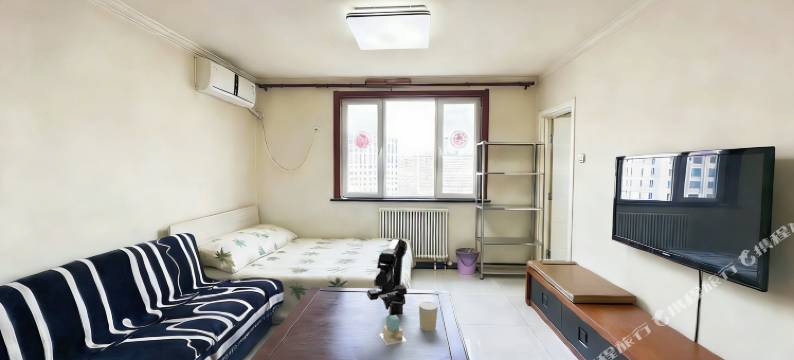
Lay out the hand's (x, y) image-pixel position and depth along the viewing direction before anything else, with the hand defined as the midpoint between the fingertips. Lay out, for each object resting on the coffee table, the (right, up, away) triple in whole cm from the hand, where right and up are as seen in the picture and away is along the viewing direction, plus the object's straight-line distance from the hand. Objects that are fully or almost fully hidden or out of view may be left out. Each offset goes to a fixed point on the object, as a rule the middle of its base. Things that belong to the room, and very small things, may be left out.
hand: (386, 309), depth 154 cm
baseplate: (+3, -12, -5) cm, 13 cm away
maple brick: (+3, -11, -5) cm, 13 cm away
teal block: (+3, -7, -5) cm, 9 cm away
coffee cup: (+20, -12, +6) cm, 24 cm away
